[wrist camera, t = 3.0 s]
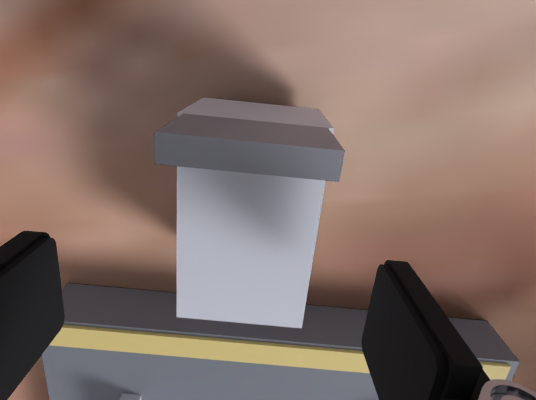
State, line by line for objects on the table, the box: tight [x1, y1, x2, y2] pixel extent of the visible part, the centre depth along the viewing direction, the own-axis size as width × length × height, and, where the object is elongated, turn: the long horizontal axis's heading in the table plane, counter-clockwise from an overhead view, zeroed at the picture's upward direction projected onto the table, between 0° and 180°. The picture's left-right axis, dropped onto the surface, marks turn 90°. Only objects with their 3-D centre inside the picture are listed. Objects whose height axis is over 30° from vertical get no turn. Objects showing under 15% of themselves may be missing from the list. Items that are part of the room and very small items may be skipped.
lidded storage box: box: [154, 98, 345, 328], centre depth 14 cm, size 8×5×8 cm, turn 175°
